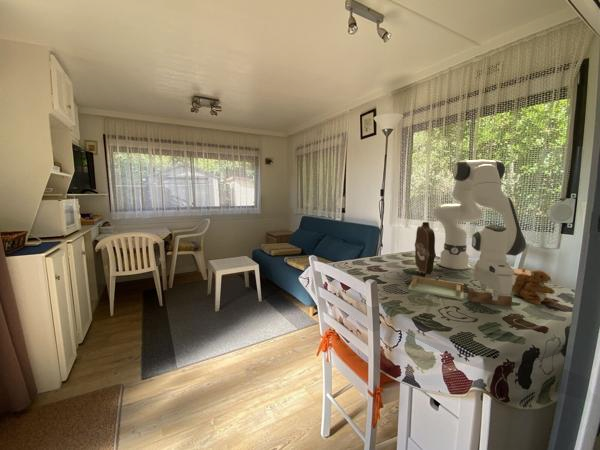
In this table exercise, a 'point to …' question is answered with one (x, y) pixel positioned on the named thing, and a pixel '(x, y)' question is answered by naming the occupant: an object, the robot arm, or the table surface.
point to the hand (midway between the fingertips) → (488, 296)
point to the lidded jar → (519, 271)
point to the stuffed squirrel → (533, 287)
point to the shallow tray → (437, 287)
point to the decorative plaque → (425, 249)
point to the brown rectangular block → (488, 297)
